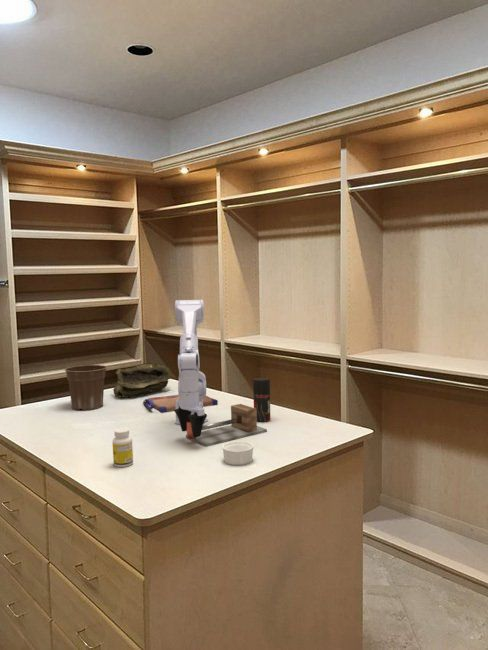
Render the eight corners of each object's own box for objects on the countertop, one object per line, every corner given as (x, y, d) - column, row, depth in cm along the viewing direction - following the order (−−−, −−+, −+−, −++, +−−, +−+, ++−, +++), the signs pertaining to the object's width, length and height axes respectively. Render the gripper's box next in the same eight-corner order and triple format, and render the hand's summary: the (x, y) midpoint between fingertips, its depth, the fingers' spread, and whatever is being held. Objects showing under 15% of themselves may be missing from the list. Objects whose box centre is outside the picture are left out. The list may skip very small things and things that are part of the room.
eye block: (205, 446, 165) (204, 421, 164) (185, 437, 174) (185, 413, 173) (266, 431, 179) (266, 408, 178) (245, 424, 188) (244, 401, 188)
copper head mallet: (190, 439, 166) (189, 423, 166) (185, 437, 169) (184, 421, 168) (237, 429, 177) (237, 413, 177) (232, 427, 179) (231, 411, 179)
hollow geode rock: (169, 398, 250) (158, 372, 258) (179, 383, 242) (168, 356, 250) (112, 407, 233) (103, 378, 241) (121, 390, 225) (111, 361, 233)
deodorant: (269, 422, 189) (268, 380, 188) (252, 422, 191) (251, 380, 189) (271, 418, 195) (271, 377, 194) (255, 417, 196) (254, 377, 195)
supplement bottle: (115, 461, 153) (113, 427, 152) (134, 460, 154) (133, 426, 153) (112, 468, 148) (110, 433, 147) (132, 467, 148) (130, 432, 147)
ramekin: (260, 461, 151) (259, 446, 150) (233, 468, 146) (232, 453, 145) (242, 453, 158) (242, 439, 158) (216, 459, 153) (216, 444, 153)
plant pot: (95, 400, 229) (93, 362, 228) (116, 406, 218) (114, 367, 217) (59, 407, 218) (57, 368, 216) (79, 414, 207) (77, 372, 205)
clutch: (219, 406, 217) (199, 396, 234) (218, 394, 217) (199, 385, 234) (152, 416, 204) (137, 405, 221) (152, 403, 204) (136, 393, 221)
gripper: (212, 393, 163) (213, 436, 164) (190, 385, 175) (191, 426, 176) (192, 396, 159) (193, 441, 161) (170, 388, 171) (171, 430, 173)
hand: (191, 433), depth 168 cm, fingers open, 7 cm apart
